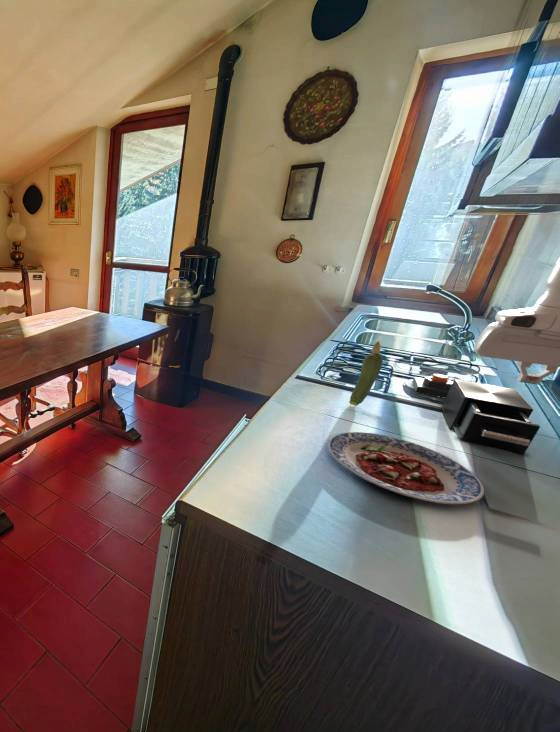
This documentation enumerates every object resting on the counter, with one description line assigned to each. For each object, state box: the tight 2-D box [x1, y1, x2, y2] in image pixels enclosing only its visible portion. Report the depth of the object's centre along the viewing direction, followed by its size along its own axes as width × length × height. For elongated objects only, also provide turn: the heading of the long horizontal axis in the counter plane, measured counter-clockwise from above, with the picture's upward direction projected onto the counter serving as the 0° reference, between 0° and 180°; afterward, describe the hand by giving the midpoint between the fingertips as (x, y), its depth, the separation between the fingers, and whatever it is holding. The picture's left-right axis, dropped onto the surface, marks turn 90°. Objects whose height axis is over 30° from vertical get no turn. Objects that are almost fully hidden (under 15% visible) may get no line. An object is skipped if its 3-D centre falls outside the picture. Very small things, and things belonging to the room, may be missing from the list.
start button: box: [431, 373, 450, 383], centre depth 122 cm, size 4×4×2 cm
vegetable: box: [348, 340, 384, 407], centre depth 110 cm, size 4×4×20 cm
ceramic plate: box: [328, 431, 485, 505], centre depth 84 cm, size 26×26×3 cm
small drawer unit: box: [456, 400, 541, 456], centre depth 94 cm, size 18×10×8 cm, turn 144°
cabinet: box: [440, 378, 534, 432], centre depth 102 cm, size 15×12×10 cm
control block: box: [411, 375, 454, 399], centre depth 123 cm, size 10×10×4 cm
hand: (527, 382), depth 85 cm, fingers closed
